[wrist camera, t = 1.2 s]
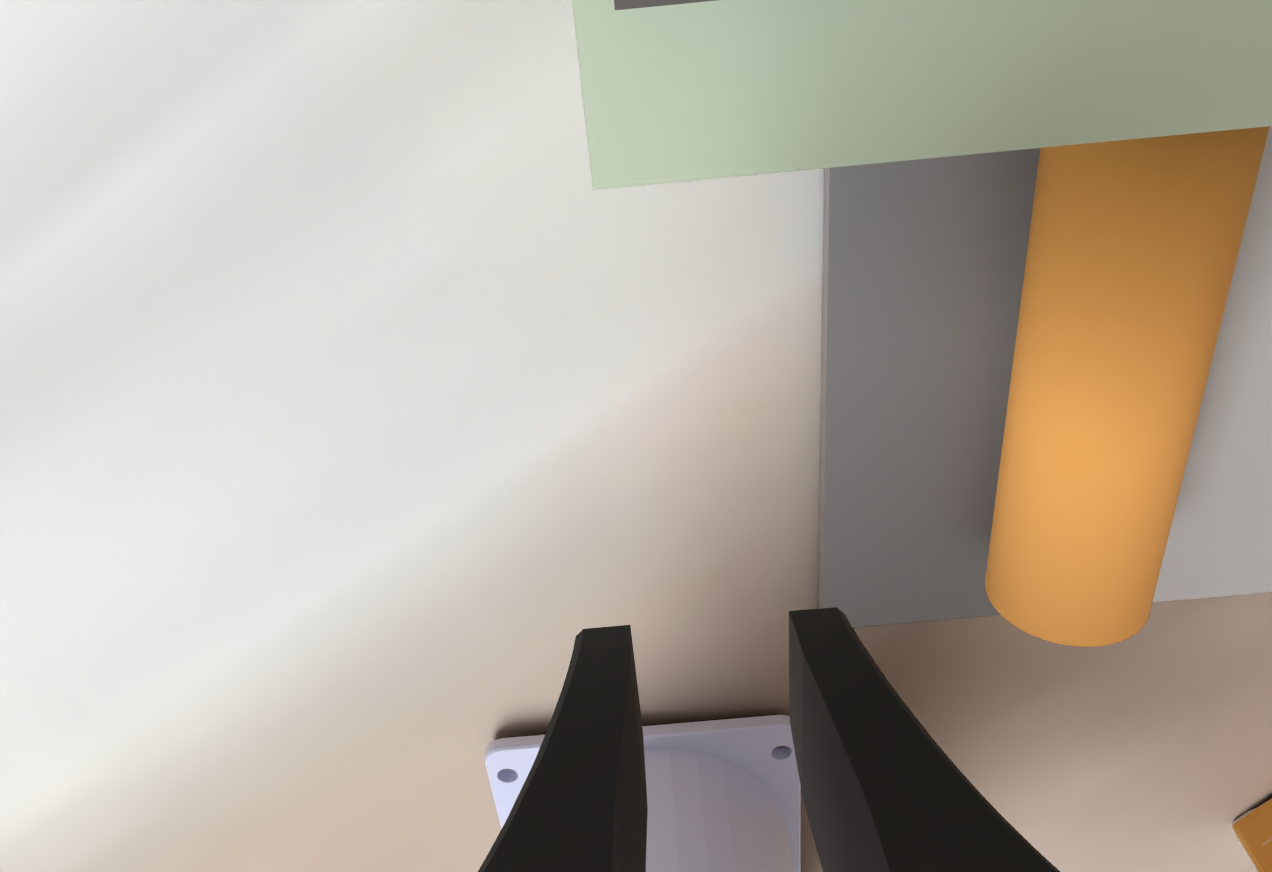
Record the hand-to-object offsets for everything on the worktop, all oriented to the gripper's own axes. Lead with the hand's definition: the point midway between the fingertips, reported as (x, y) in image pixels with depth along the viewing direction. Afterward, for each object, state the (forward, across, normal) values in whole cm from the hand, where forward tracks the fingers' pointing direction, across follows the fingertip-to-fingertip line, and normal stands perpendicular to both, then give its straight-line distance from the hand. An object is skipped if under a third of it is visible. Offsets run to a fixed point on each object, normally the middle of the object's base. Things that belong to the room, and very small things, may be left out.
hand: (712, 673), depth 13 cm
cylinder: (+6, -8, 0) cm, 10 cm away
